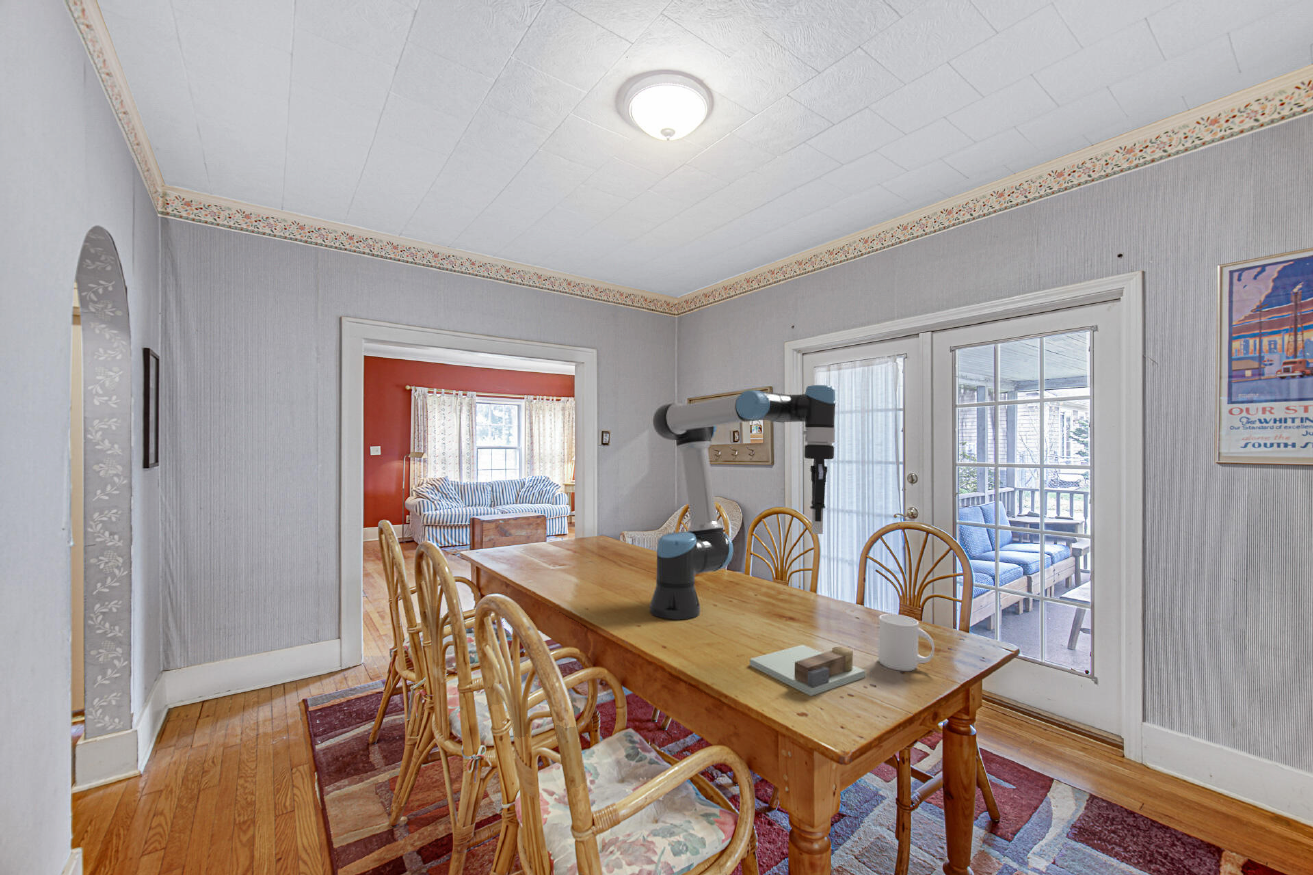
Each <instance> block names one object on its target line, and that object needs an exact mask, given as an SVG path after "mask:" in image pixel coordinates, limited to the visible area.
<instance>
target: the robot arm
mask: <svg viewBox="0 0 1313 875" xmlns="http://www.w3.org/2000/svg"><path fill="white" fill-rule="evenodd" d="M836 403H837V402H836V390H835V387H833V386H832V385H829V384H828V385H827V384H826V385H825V384H816V385H815V384H811V385H807V387H806V389H805V393H803V394H802V393H801V394H785V393H776V392H768V391H762V390H757V389H753V390H745V391H743V392H741V393H740V394H738V395H731V396H727V397H721V398H720V397H719V398H717V399H716V398H715V399H714V398H713V399H711V400H710V399H709V400H704V401H700V402H699V401H698V402H694V403H689V404H688V403H687V404H682V403H680V402H676V403H667V404H663V405H661V406H659V407H658V408H657V409H656V410H655V413H654V414H653V418H652V425H653V428H654V431H655V433H657V435H659V437H661V438H663V439H666V440H670V441H675V442H676V445H675V446H676V449H677V450H679V451H680V452H681V454H682V463H683V470H684V479H685V487H686V494H687V495H686V496H687V504H688V511H689V512H688V513H689V520H690V526H689V527H688V529H687V530H686V531H678V532H676V531H675V532H669V533H665V534H663V535H661V536H660V537H659V539H658V540H657V548H656V582H655V583H656V584H655V585H656V586H655V589H654V591H653V594H652V598H651V601H650V604H649V613H650V614H651V615H653V616H654V617H657V618H660V619H665V620H679V621H680V620H689V619H694V618H696V617H698V616H700V613H701V605H700V602H699V598H698V595H697V590H696V586H695V583H696V582H695V581H696V580H695V579H696V575H698V574H699V575H700V574H704V573H708V572H717V571H719V570H722V569H724V568H726V567H727V566H728V565H729V564H730V562H731V561H732V559H733V554H734V545H733V540H732V539H731V538H730V536H729V535H728V534H727V533H724V532H725V531H724V527H723V525H722V524H720V523H719V521H718V516H717V509H716V501H715V495H714V494H715V493H714V485H713V478H712V469H711V463H710V462H711V461H710V457H709V456H710V455H709V448H710V446H711V445H712V439H713V438H714V436H715V434H716V431H717V426H725V425H731V424H737V423H745V422H756V421H770V422H774V423H782V424H783V423H794V422H795V423H796V422H797V423H798V422H803V423H804V427H805V428H804V430H803V431H802V435H804V442H805V443H806V444H805V445H804V450H803V451H804V458H805V459H809V460H811V459H812V460H813V465H810V468H809V469H810V470H809V471H810V473H811V474H810V481H811V503H810V504H811V506H810V509H811V534H813V535H815V534H817V535H823V532H824V530H823V529H824V509H826V506H825V505H826V504H825V497H826V482H827V473H828V466H826V464H825V462H826V461H825V460H833V459H835V446H834V445H833V444H834V443H835V442H836V441H835V440H836V438H835V436H836V428H835V416H836V414H835V413H836Z"/></svg>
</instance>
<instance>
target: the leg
mask: <svg viewBox="0 0 1313 875" xmlns="http://www.w3.org/2000/svg"><path fill="white" fill-rule="evenodd" d="M853 656H854V652H853V650H852V649H851V648H848V647H845V646H834V647H832V650H829V651H826V652H822V654H819V655H816V656H813V657H809V658H806V659H803V660H800V661H797V662H795V677H794V679H797V680H799V681H801V682H803V683H805V684H807V681H808V671H810V670H813V669H816V668H820V667H823V666H824V667H826V668H829V677H831V676H833V675H836V674H839V673H842V672H845V671H851V670H852V668H853V666H854V665H853V663H854V662H853V659H854V658H853Z"/></svg>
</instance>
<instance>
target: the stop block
mask: <svg viewBox="0 0 1313 875" xmlns="http://www.w3.org/2000/svg"><path fill="white" fill-rule="evenodd" d="M827 683H829V668H826V667H824V666H823V667H820V668H816V669H813V670H810V671H808V681H807V686H809V687H811V688H815V687H818V686H821V685H824V684H827Z"/></svg>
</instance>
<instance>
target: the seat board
mask: <svg viewBox="0 0 1313 875" xmlns="http://www.w3.org/2000/svg"><path fill="white" fill-rule="evenodd" d="M822 653H823V652H821V651H818V650H816V649H814V648H812V647H809V646H807V645H805V644H801V645H795V646H793V647H789V648H785V649H780V650H778V651H775V652H770V653H767V654H763V655H759V656H756V657H751V658H749V666H750V667H752V668H754V669H757V670H758V671H759V672H760V671H761V672H762V673H764V674H766V675H768V676H770V677H772V678H774V679H776V680H778V681H780V682H782V683H784V684H786V685H788V686H790V687H792V688H794V689H796V690H798V691H800V692H802V693H803V694H806V695H808V696H810V697H813V696H816V695H819V694H822V693H824V692H826V691H829V690H832V689H835V688H838V687H840V686H843V685H847V684H850V683H852V682H855V681H858V680H861V679H864V678H866V670H865V669H862V668H861V667H858V666H855V665H853V668H852V670H851V671H845V672H842V673H839V674H836V675H833V676H831V677H829V683H827V684H824V685H821V686H818V687H815V688H811V687H809V686H807V684H805V683H803V682H801V681H799V680H797V679H794V677H795V662H797V661H800V660H803V659H806V658H809V657H813V656H816V655H819V654H822Z"/></svg>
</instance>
